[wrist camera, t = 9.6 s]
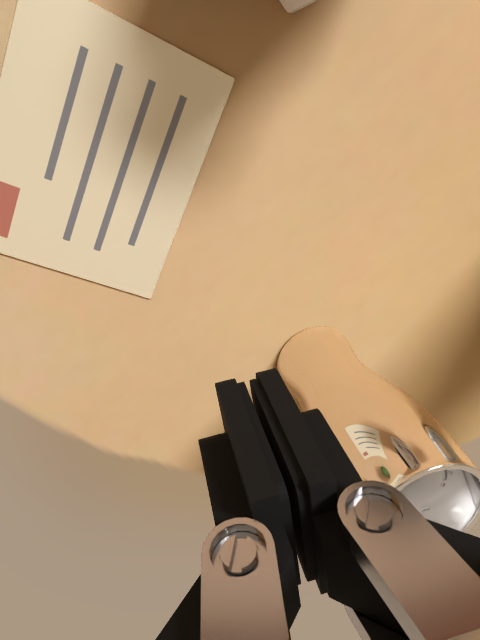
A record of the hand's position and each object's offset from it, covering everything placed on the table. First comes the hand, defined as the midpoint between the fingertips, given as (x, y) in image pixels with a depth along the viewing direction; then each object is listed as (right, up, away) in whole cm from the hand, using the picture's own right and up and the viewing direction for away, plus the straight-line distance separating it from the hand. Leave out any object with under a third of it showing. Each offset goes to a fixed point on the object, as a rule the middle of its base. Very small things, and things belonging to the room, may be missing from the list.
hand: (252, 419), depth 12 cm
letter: (-8, +12, +13) cm, 20 cm away
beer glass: (+5, 0, +23) cm, 24 cm away
